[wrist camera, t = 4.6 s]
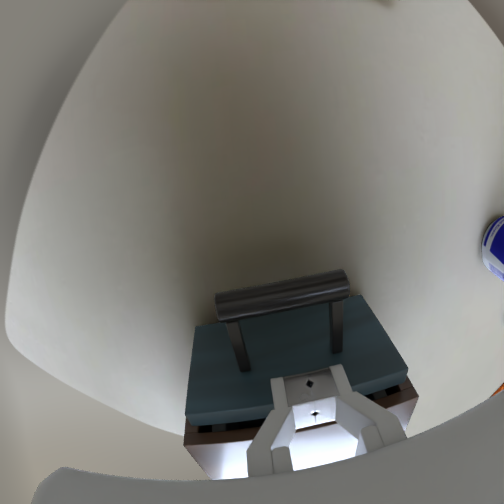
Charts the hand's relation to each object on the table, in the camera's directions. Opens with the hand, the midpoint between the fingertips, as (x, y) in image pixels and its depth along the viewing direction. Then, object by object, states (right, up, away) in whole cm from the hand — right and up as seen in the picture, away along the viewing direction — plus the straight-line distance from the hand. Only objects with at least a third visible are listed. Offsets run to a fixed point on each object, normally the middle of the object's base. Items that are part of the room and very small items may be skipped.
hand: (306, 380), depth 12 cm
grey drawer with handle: (0, -2, +10) cm, 10 cm away
